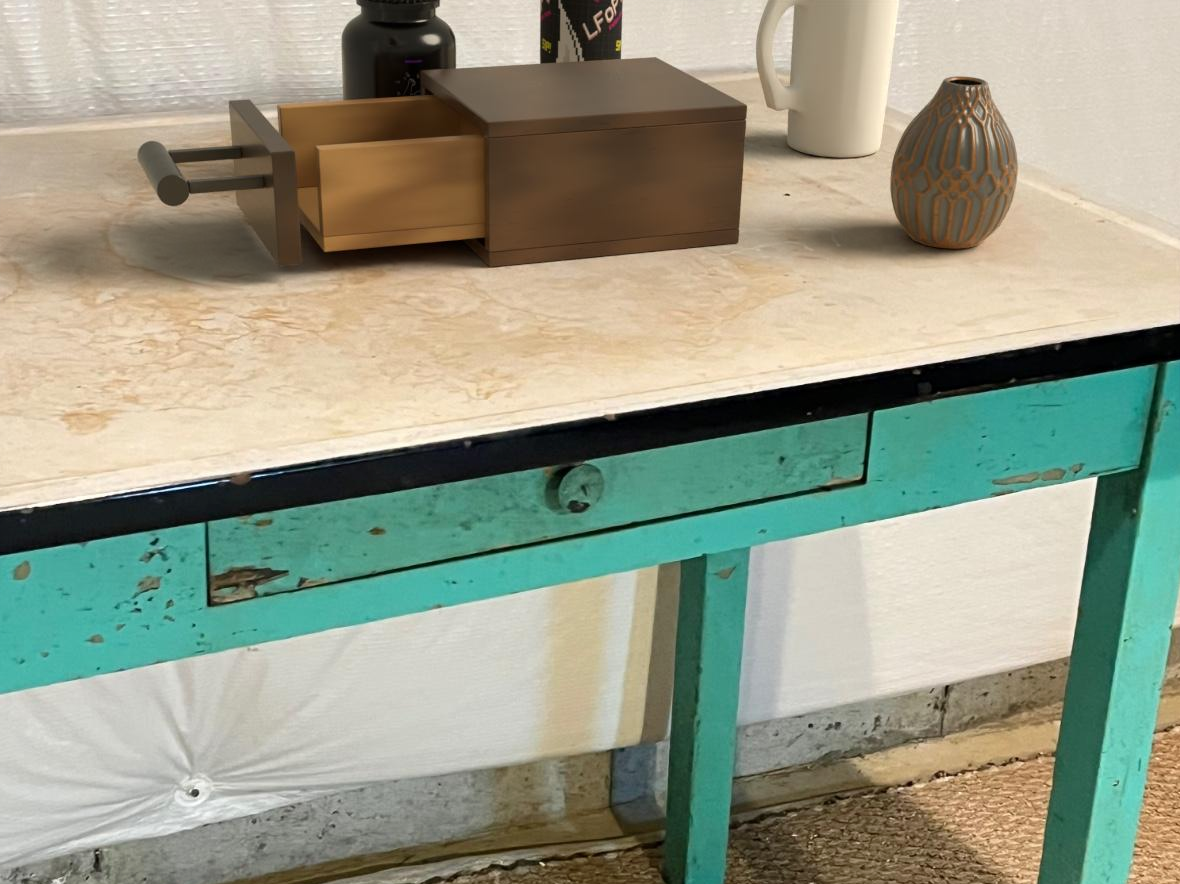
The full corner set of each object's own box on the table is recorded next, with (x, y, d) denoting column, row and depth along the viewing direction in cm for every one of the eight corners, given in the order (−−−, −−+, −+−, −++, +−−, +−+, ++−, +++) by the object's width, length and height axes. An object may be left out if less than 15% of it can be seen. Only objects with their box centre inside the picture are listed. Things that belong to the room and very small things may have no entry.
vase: (925, 262, 92) (945, 99, 88) (862, 226, 98) (877, 71, 94) (1031, 251, 95) (1056, 90, 90) (964, 216, 100) (984, 64, 96)
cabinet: (489, 267, 90) (488, 122, 86) (423, 202, 100) (419, 70, 96) (738, 243, 95) (747, 104, 91) (651, 183, 105) (656, 56, 101)
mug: (845, 129, 118) (863, -54, 112) (904, 153, 113) (925, -38, 107) (722, 144, 114) (733, -46, 108) (778, 169, 108) (792, -29, 103)
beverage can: (576, 121, 118) (579, -63, 112) (523, 105, 122) (523, -73, 116) (636, 109, 122) (642, -69, 116) (582, 94, 125) (585, -79, 119)
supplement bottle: (412, 198, 101) (406, -14, 95) (323, 179, 104) (311, -28, 98) (479, 173, 106) (477, -30, 100) (392, 156, 109) (385, -42, 103)
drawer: (171, 276, 85) (159, 160, 82) (138, 212, 94) (127, 106, 91) (530, 243, 91) (530, 134, 88) (466, 186, 100) (464, 86, 97)
